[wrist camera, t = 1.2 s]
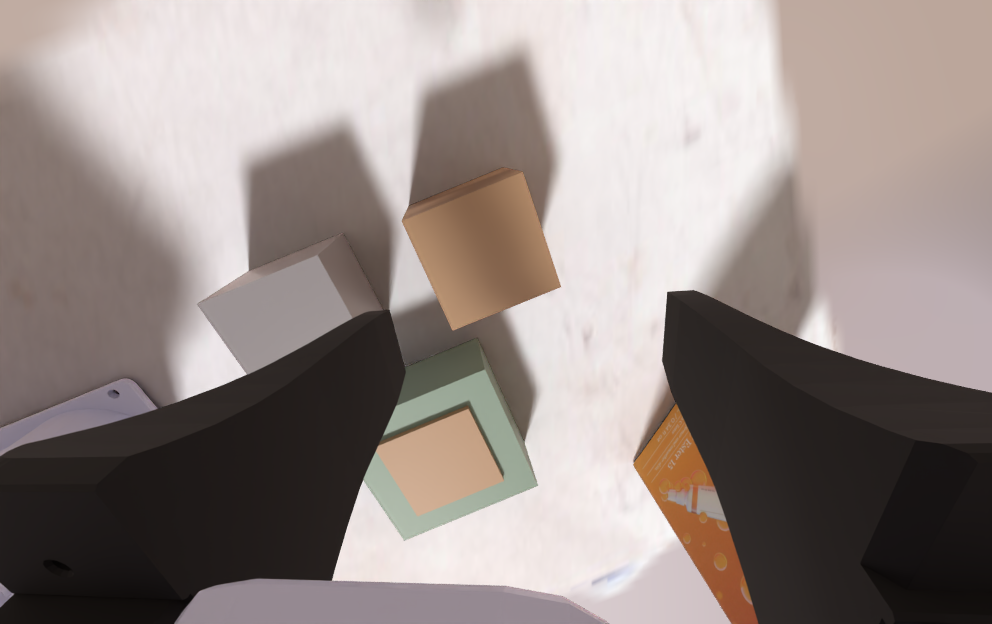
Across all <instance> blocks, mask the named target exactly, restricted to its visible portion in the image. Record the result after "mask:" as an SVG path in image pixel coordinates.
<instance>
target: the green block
mask: <svg viewBox="0 0 992 624" xmlns="http://www.w3.org/2000/svg"><path fill="white" fill-rule="evenodd" d="M405 370H406V374H405V378H404V381H403V385H402V389H401V393H400V396H399V399H398V403H397V405H396V407H395V410H394V412H393V414H392V417H391V419H390V421H389V423H388V426H387V428H386V430H385V432H384V434H383V437H382V439H381V441H380V443H379V445H378V448H377V450H376V452H375V454H374V456H373V458H372V461H371V463H370V465H369V467H368V469H367V472H366V474H365V477H364V479H363V480H364V482H365V483H366V485H367V486H368V488H369V489H370V491H371V492H372V494H373V495H374V497H375V498H376V500H377V501H378V502H379V504H380V505H381V507H382V508H383V510H384V511H385V513H386V514H387V516H388V517H389V519H390V520H391V522H392V523H393V525H394V526H395V528H396V529H397V531H398V532H399V534H400V535H401V537H402V538H403V539H404V541H405V540H407V539H410V538H412V537H414V536H417V535H419V534H422V533H424V532H427V531H429V530H431V529H434V528H436V527H439V526H441V525H444V524H446V523H448V522H451V521H453V520H456V519H458V518H461V517H463V516H466V515H468V514H470V513H473V512H475V511H478V510H480V509H483V508H485V507H487V506H490V505H492V504H495V503H497V502H500V501H502V500H504V499H507V498H509V497H512V496H514V495H517V494H519V493H522V492H524V491H526V490H529V489H531V488H534V487H536V486H538V484H537V481H536V478H535V475H534V471H533V468H532V465H531V462H530V459H529V456H528V452H527V449H526V446H525V443H524V441H523V438H522V436H521V434H520V432H519V429H518V427H517V425H516V423H515V421H514V418H513V416H512V414H511V412H510V409H509V407H508V405H507V403H506V401H505V398H504V396H503V394H502V392H501V389H500V387H499V385H498V383H497V380H496V378H495V376H494V374H493V372H492V369H491V367H490V365H489V363H488V360H487V358H486V356H485V354H484V351H483V349H482V347H481V345H480V343H479V340H478V338H475V339H473V340H471V341H468V342H466V343H463V344H461V345H458V346H456V347H454V348H451V349H449V350H446V351H444V352H441V353H439V354H437V355H434V356H432V357H429V358H427V359H424V360H422V361H420V362H417V363H415V364H412V365H410V366H407V367H405Z"/></svg>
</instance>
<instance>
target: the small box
mask: <svg viewBox="0 0 992 624" xmlns="http://www.w3.org/2000/svg"><path fill="white" fill-rule="evenodd" d="M633 465H634V467H635V469H636V471H637V472H638V474H639V476H640V477H641V479H642V480H643V482H644V484H645V485H646V487H647V488H648V490H649V492H650V493H651V495H652V497H653V498H654V500H655V501H656V503H657V505H658V506H659V508H660V510H661V511H662V513H663V515H664V516H665V518H666V519H667V521H668V523H669V524H670V526H671V527H672V529H673V531H674V532H675V534H676V535H677V537H678V539H679V540H680V542H681V543H682V545H683V547H684V548H685V550H686V551H687V553H688V555H689V556H690V558H691V559H692V561H693V563H694V564H695V566H696V567H697V569H698V570H699V572H700V574H701V575H702V577H703V579H704V581H705V582H706V584H707V585H708V586H709V588H710V590H711V592H712V593H713V595H714V597H715V598H716V600H717V601H718V603H719V605H720V606H721V608H722V609H723V611H724V613H725V614H726V616H727V617H728V619H729V621H730V622H731V624H758V621H757V618H756V614H755V611H754V607H753V604H752V601H751V597H750V594H749V591H748V587H747V584H746V581H745V577H744V574H743V571H742V568H741V565H740V561H739V558H738V555H737V552H736V549H735V546H734V543H733V540H732V536H731V533H730V530H729V527H728V524H727V521H726V518H725V516H724V513H723V510H722V507H721V504H720V501H719V498H718V495H717V492H716V489H715V487H714V484H713V482H712V479H711V477H710V475H709V472H708V470H707V468H706V465H705V463H704V461H703V459H702V457H701V455H700V453H699V451H698V448H697V446H696V444H695V442H694V440H693V438H692V436H691V434H690V432H689V429H688V427H687V425H686V423H685V421H684V419H683V417H682V415H681V412H680V410H679V408H678V406H677V404H675V406H674V407H673V409H672V410H671V411H670V413H669V414H668V416H667V417H666V419H665V420H664V422H663V423H662V425H661V426H660V427H659V429H658V430H657V432H656V433H655V434H654V436H653V437H652V439H651V440H650V441H649V443H648V444H647V446H646V447H645V449H644V450H643V451H642V453H641V454H640V456H638V458H637V459H636V460H635V462H634V464H633Z"/></svg>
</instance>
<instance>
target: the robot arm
mask: <svg viewBox="0 0 992 624" xmlns="http://www.w3.org/2000/svg"><path fill="white" fill-rule="evenodd" d="M662 362H663V365H664V369H665V372H666V376H667V379H668V383H669V386H670V389H671V392H672V395H673V397H674V399H675V402H676V404H677V406H678V408H679V410H680V412H681V415H682V417H683V419H684V421H685V423H686V425H687V427H688V429H689V432H690V434H691V436H692V438H693V440H694V442H695V444H696V446H697V448H698V451H699V453H700V455H701V457H702V459H703V461H704V463H705V465H706V468H707V470H708V472H709V475H710V477H711V479H712V482H713V484H714V487H715V489H716V492H717V495H718V498H719V501H720V504H721V507H722V510H723V513H724V516H725V518H726V521H727V524H728V527H729V530H730V533H731V536H732V540H733V543H734V546H735V549H736V552H737V555H738V558H739V561H740V565H741V568H742V571H743V574H744V577H745V581H746V584H747V587H748V591H749V594H750V597H751V601H752V604H753V607H754V611H755V614H756V618H757V621H758V624H992V393H990V392H986V391H981V390H976V389H971V388H966V387H961V386H957V385H953V384H949V383H944V382H940V381H936V380H931V379H927V378H923V377H920V376H916V375H912V374H908V373H905V372H901V371H897V370H894V369H890V368H886V367H882V366H879V365H876V364H872V363H869V362H865V361H862V360H859V359H856V358H853V357H850V356H847V355H844V354H841V353H838V352H835V351H832V350H829V349H827V348H824V347H821V346H818V345H815V344H813V343H810V342H808V341H805V340H802V339H800V338H798V337H795V336H793V335H791V334H788V333H786V332H783V331H781V330H779V329H776V328H774V327H772V326H770V325H767V324H765V323H763V322H761V321H759V320H757V319H754V318H752V317H750V316H748V315H746V314H744V313H742V312H740V311H738V310H736V309H734V308H732V307H730V306H728V305H726V304H724V303H722V302H720V301H718V300H716V299H714V298H711V297H709V296H707V295H705V294H703V293H700V292H697V291H694V290H690V291H674V292H667V304H666V317H665V331H664V344H663V358H662ZM405 374H406V370H405V367H404V363H403V359H402V355H401V352H400V348H399V344H398V340H397V337H396V333H395V329H394V325H393V321H392V318H391V314H390V310H381V311H368V312H365V313H363V314H360V315H358V316H356V317H354V318H352V319H350V320H348V321H347V322H345V323H343V324H341V325H339V326H338V327H336V328H334V329H332V330H331V331H329V332H327V333H325V334H324V335H322V336H320V337H318V338H317V339H315V340H313V341H312V342H310V343H308V344H306V345H304V346H303V347H301V348H299V349H297V350H295V351H293V352H291V353H289V354H288V355H286V356H284V357H282V358H280V359H278V360H276V361H275V362H273V363H271V364H269V365H267V366H265V367H263V368H260V369H258V370H256V371H254V372H252V373H250V374H248V375H245V376H243V377H241V378H238V379H236V380H234V381H232V382H229V383H227V384H225V385H222V386H220V387H217V388H214V389H212V390H209V391H206V392H204V393H201V394H198V395H196V396H193V397H190V398H187V399H185V400H182V401H179V402H177V403H174V404H171V405H168V406H165V407H162V408H159V409H158V408H157V407H156V406H155V405H154V404H153V402H152V401H151V400H150V399H149V398H148V397H147V395H146V394H145V393H144V392H143V391H142V389H141V388H140V387H139V386H138V385H137V384H136V383H135V382H134V381H133V380H131V379H126V378H124V379H120V380H117V381H115V382H112V383H110V384H107V385H105V386H102V387H100V388H98V389H95V390H93V391H90V392H88V393H85V394H83V395H80V396H78V397H75V398H73V399H71V400H68V401H66V402H63V403H61V404H58V405H56V406H53V407H51V408H48V409H46V410H43V411H41V412H39V413H36V414H34V415H31V416H29V417H26V418H24V419H21V420H19V421H16V422H14V423H12V424H9V425H7V426H4V427H2V428H0V624H609V623H608V622H606V621H605V620H603V619H602V618H600V617H598V616H596V615H595V614H593V613H591V612H589V611H588V610H586V609H584V608H582V607H581V606H579V605H577V604H576V603H574V602H572V601H570V600H569V599H567V598H565V597H563V596H558V595H553V594H547V593H542V592H536V591H531V590H525V589H520V588H514V587H509V586H490V585H456V584H422V583H389V582H355V581H332V578H333V574H334V570H335V567H336V563H337V560H338V556H339V553H340V550H341V546H342V543H343V539H344V536H345V533H346V529H347V526H348V523H349V520H350V517H351V514H352V511H353V507H354V504H355V501H356V498H357V495H358V492H359V489H360V487H361V484H362V482H363V479H364V477H365V474H366V472H367V469H368V467H369V465H370V463H371V461H372V458H373V456H374V454H375V452H376V450H377V448H378V445H379V443H380V441H381V439H382V437H383V434H384V432H385V430H386V428H387V426H388V423H389V421H390V419H391V417H392V414H393V412H394V410H395V407H396V405H397V403H398V399H399V396H400V393H401V389H402V385H403V381H404V378H405ZM113 390H116V391H118V392H119V394H116V393H115V392H114V391H113Z"/></svg>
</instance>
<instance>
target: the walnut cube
mask: <svg viewBox="0 0 992 624" xmlns="http://www.w3.org/2000/svg"><path fill="white" fill-rule="evenodd" d="M402 223H403V225H404V227H405V229H406V231H407V234H408V236H409V238H410V240H411V242H412V244H413V247H414V249H415V251H416V253H417V255H418V257H419V259H420V262H421V264H422V266H423V268H424V270H425V272H426V275H427V277H428V279H429V281H430V283H431V285H432V288H433V290H434V292H435V294H436V296H437V298H438V301H439V303H440V305H441V307H442V309H443V311H444V314H445V316H446V318H447V320H448V322H449V324H450V327H451V329H452V331H453V330H456V329H458V328H461V327H463V326H466V325H468V324H471V323H473V322H476V321H478V320H481V319H483V318H486V317H488V316H490V315H493V314H495V313H498V312H500V311H503V310H505V309H508V308H510V307H513V306H515V305H518V304H520V303H523V302H525V301H528V300H530V299H532V298H535V297H537V296H540V295H542V294H545V293H547V292H550V291H552V290H555V289H557V288H560V287H561V285H560V282H559V279H558V276H557V273H556V270H555V267H554V264H553V261H552V258H551V255H550V252H549V249H548V246H547V243H546V240H545V237H544V234H543V231H542V228H541V225H540V222H539V219H538V216H537V213H536V210H535V207H534V204H533V201H532V198H531V195H530V192H529V189H528V186H527V183H526V180H525V177H524V174H523V172H522V171H518V170H513V169H509V168H504V167H503V168H500V169H498V170H495V171H493V172H490V173H488V174H485V175H483V176H481V177H478V178H476V179H473V180H471V181H468V182H466V183H463V184H461V185H458V186H456V187H454V188H451V189H449V190H446V191H444V192H441V193H439V194H436V195H434V196H431V197H429V198H427V199H424V200H422V201H419V202H417V203H414V204H412V205H409V206H408V209H407V211H406V213H405V215H404V217H403V219H402Z"/></svg>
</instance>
